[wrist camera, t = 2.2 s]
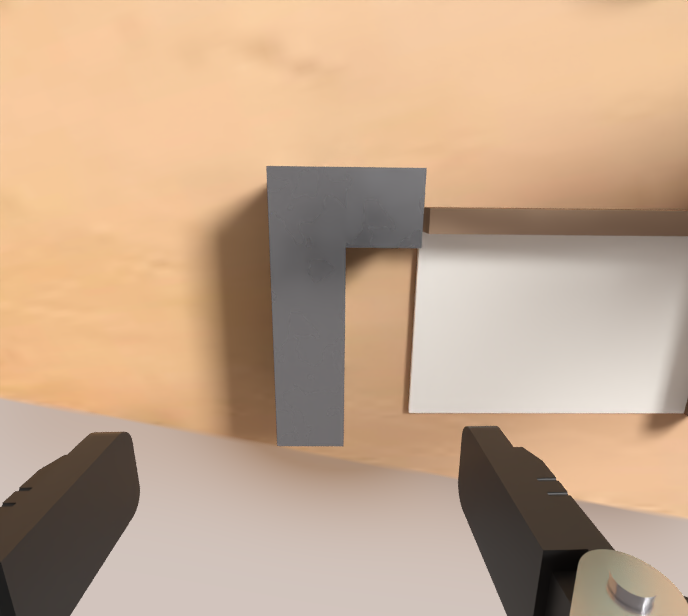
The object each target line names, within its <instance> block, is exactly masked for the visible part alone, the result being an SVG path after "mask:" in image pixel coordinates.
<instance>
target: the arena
mask: <svg viewBox="0 0 688 616" xmlns="http://www.w3.org/2000/svg"><path fill="white" fill-rule="evenodd" d="M423 232H425V233H428V234H484V235H591V236H688V210H641V209H547V208H452V207H424V216H423ZM684 414H686V415H687V416H688V399H687V403H686V407H685V411H684Z"/></svg>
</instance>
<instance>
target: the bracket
mask: <svg viewBox="0 0 688 616" xmlns="http://www.w3.org/2000/svg"><path fill="white" fill-rule="evenodd" d="M266 167H267V192H268V218H269V244H270V270H271V295H272V321H273V347H274V372H275V398H276V424H277V446H343V440H344V355H345V271H346V248H422V232H423V216H424V200H425V184H426V168H376V167H295V166H266Z"/></svg>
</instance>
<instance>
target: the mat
mask: <svg viewBox="0 0 688 616" xmlns="http://www.w3.org/2000/svg"><path fill="white" fill-rule="evenodd" d="M687 399H688V236H591V235H484V234H428V233H425V232H422V248H418V253H417V270H416V287H415V303H414V320H413V337H412V354H411V370H410V387H409V404H408V411H409V413H684V411H685V407H686V403H687Z"/></svg>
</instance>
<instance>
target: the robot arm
mask: <svg viewBox="0 0 688 616" xmlns="http://www.w3.org/2000/svg"><path fill="white" fill-rule="evenodd" d="M458 489H459V497H460V502H461V506H462V509H463V512H464V514H465V517H466V519H467V521H468V524H469V526H470V528H471V531H472V533H473V536H474V538H475V540H476V543H477V545H478V547H479V550H480V552H481V554H482V557H483V559H484V562H485V564H486V566H487V569H488V571H489V573H490V576H491V578H492V581H493V583H494V585H495V588H496V590H497V593H498V595H499V597H500V600H501V602H502V604H503V607H504V609H505V611H506V614H507V616H688V597H685V596H683V595H682V593H681V592H680V591H679V590H678V588H677V587H676V586H675V585H674V584H673V583H672V582H671V581H670V580H669V579H668V578H667V577H666V576H664V575H663V574H662V573H661V572H659V571H658V570H656V569H655V568H653V567H652V566H651V565H649V564H647V563H645V562H643V561H642V560H640V559H637V558H635V557H633V556H631V555H628V554H625V553H622V552H618V551H615V550H614V549H613V548H612V546H611V545H610V544H609V542H608V541H607V540H606V539H605V537H604V536H603V535H602V534H601V533H600V531H599V530H598V529H597V528H596V527H595V525H594V524H593V523H592V521H591V520H590V519H589V518H588V517H587V515H586V514H585V513H584V512H583V510H582V509H581V508H580V507H579V505H578V504H577V503H576V502H575V501H574V499H573V498H572V497H571V496H570V495H569V496H568V494H567V491H566V489H565V488H564V487H563V486H562V484H561V483H560V482H559V481H556V477H555V476H554V475H553V473H552V472H551V471H550V470H549V468H548V467H547V466H546V465H545V464H544V462H543V461H542V460H540V459H539V458H537V457H536V456H535V455H533V454H532V453H530V452H529V451H527V450H526V449H524V448H523V447H513V446H512V444H511V443H510V442H509V440H508V439H507V438H506V436H505V435H504V434H503V432H502V431H501V430H500V428H499V427H497V426H467V427H465V428H464V429H463V433H462V442H461V454H460V466H459V479H458ZM139 496H140V486H139V480H138V473H137V467H136V461H135V455H134V449H133V442H132V438H131V436H130V434H129V433H127V432H94V433H91V434H89V435H88V436H87V437H86V438H85V439H84V440H82V441H81V442H80V443H79V444H78V445H77V446H76V447H75V448H74V449H73V450H72V451H71V452H70V453H69V454H68V455H64V456H62V457H60V458H59V459H57V460H55V461H54V462H52V463H50V464H49V465H47V466H45V467H43V468H42V469H40V470H38V471H37V472H36V473H35V474H34V475H33V476H32V477H31V478H30V479H29V480H28V481H26V482H25V483H24V484H23V485H22V486H21V487H20V489H19V491H15V492H14V493H13V494H12V495H11V496H10V497H9V498H8V499H6V500H5V501H4V502H3V505H2V507H0V616H70V615H71V613H72V612H73V610H74V609H75V607H76V605H77V604H78V602H79V601H80V599H81V598H82V596H83V594H84V593H85V591H86V590H87V588H88V587H89V585H90V583H91V582H92V580H93V579H94V577H95V576H96V574H97V573H98V571H99V569H100V568H101V566H102V565H103V563H104V562H105V560H106V558H107V557H108V555H109V554H110V552H111V551H112V549H113V547H114V546H115V544H116V543H117V541H118V540H119V538H120V537H121V535H122V533H123V532H124V530H125V529H126V527H127V526H128V524H129V522H130V521H131V519H132V518H133V516H134V514H135V512H136V509H137V506H138V502H139Z"/></svg>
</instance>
